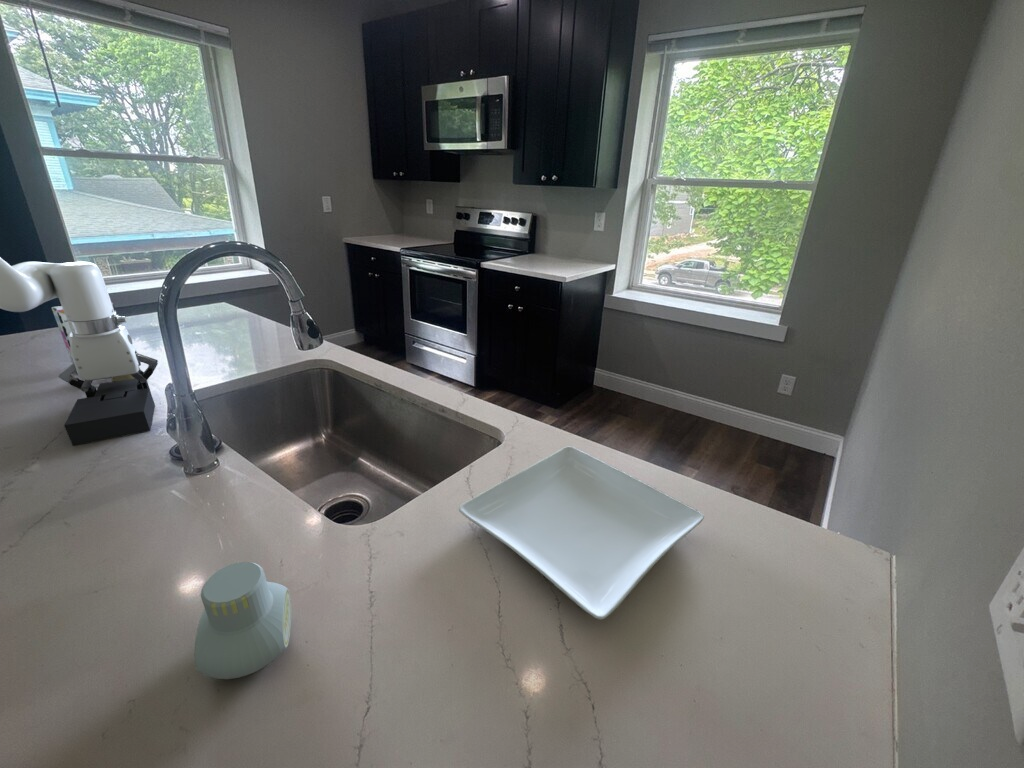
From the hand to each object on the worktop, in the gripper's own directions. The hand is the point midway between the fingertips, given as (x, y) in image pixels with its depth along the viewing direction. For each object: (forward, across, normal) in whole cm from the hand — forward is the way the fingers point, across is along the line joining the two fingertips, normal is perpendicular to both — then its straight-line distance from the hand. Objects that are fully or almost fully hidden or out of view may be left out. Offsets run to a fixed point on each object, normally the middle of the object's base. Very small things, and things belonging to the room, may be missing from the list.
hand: (122, 400), depth 103 cm
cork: (+1, +1, -17) cm, 17 cm away
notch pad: (+1, 0, +10) cm, 10 cm away
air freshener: (+1, -20, +77) cm, 79 cm away
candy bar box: (+1, +7, -28) cm, 29 cm away
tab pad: (+1, 0, +1) cm, 2 cm away
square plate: (+1, -65, +80) cm, 103 cm away
